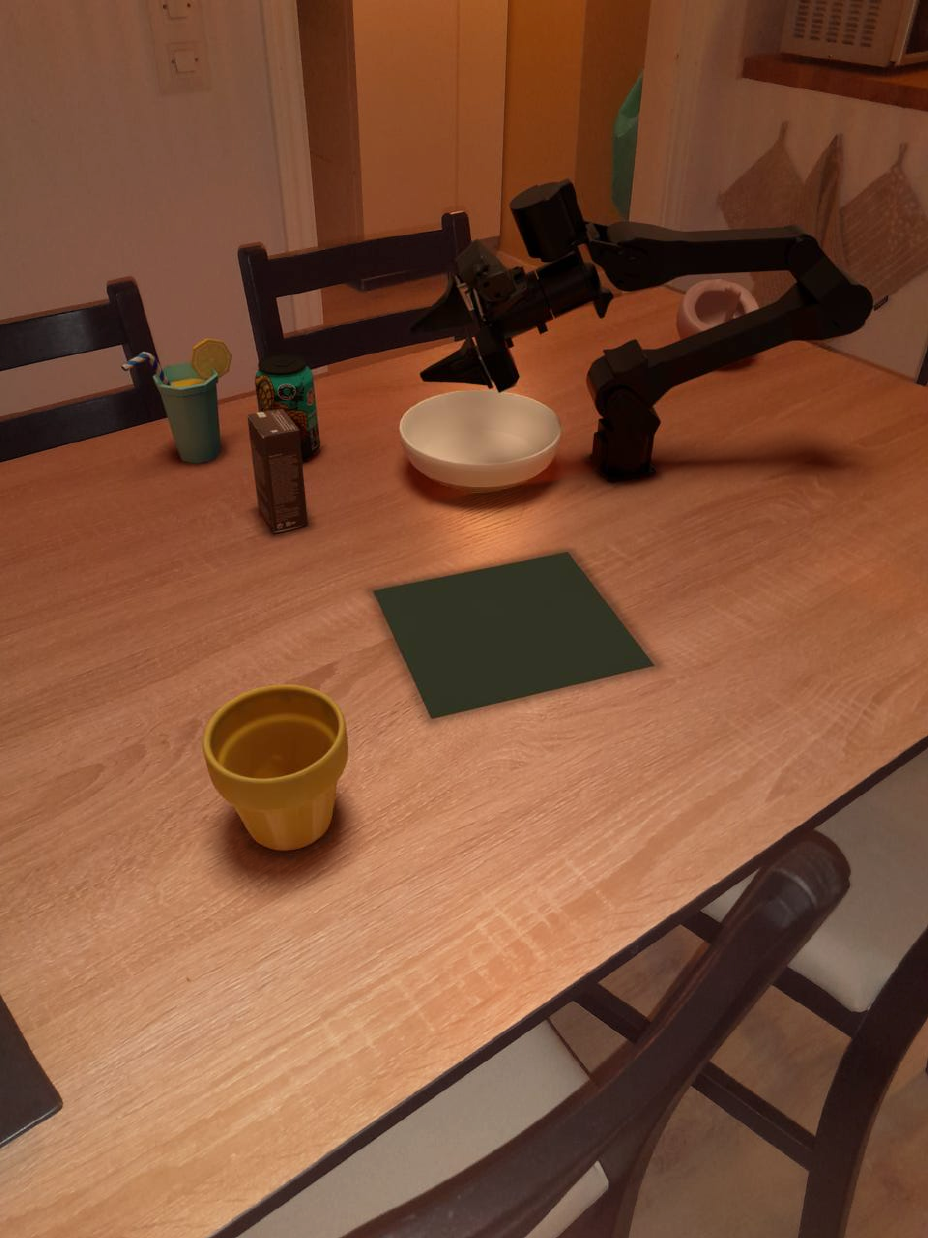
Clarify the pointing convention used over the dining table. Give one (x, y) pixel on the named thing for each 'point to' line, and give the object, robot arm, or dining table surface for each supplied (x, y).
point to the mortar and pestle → (712, 306)
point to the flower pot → (278, 761)
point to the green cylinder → (290, 395)
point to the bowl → (480, 439)
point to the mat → (506, 633)
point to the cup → (192, 398)
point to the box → (278, 469)
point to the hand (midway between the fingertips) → (416, 353)
